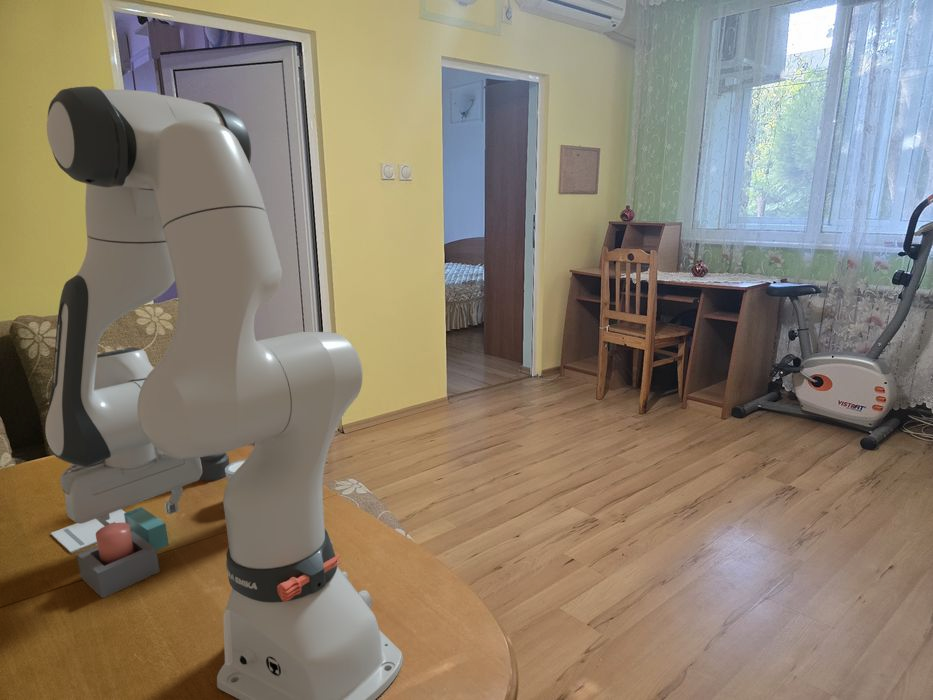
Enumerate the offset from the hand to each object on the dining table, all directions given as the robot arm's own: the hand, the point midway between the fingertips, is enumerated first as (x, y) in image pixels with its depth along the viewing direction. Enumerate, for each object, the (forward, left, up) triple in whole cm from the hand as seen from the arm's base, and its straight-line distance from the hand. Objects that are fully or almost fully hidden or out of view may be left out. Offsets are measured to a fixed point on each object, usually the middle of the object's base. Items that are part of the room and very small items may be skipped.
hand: (144, 523), depth 100 cm
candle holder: (+15, -20, -3) cm, 25 cm away
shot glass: (-1, -18, -3) cm, 18 cm away
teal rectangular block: (0, 0, -3) cm, 3 cm away
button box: (-7, +7, -3) cm, 11 cm away
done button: (-7, +7, 0) cm, 10 cm away
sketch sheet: (+10, +4, -3) cm, 11 cm away
